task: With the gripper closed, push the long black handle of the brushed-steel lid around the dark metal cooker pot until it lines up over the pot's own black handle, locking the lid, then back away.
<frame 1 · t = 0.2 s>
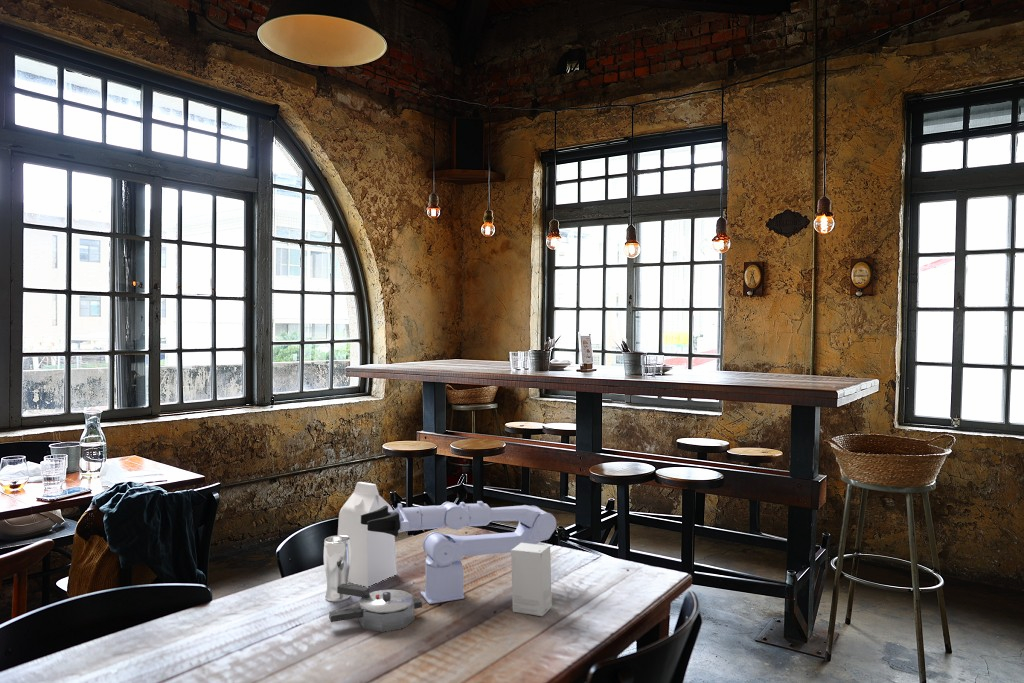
hand: (364, 522, 174), 21 cm above the table, tool horizontal, fingers open, 7 cm apart
pot: (386, 620, 167), on the table
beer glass: (337, 598, 181), on the table
milk: (366, 577, 196), on the table
skincare box: (531, 611, 174), on the table
lid: (374, 595, 168), point 5 cm above the table, hinge at -45.0°
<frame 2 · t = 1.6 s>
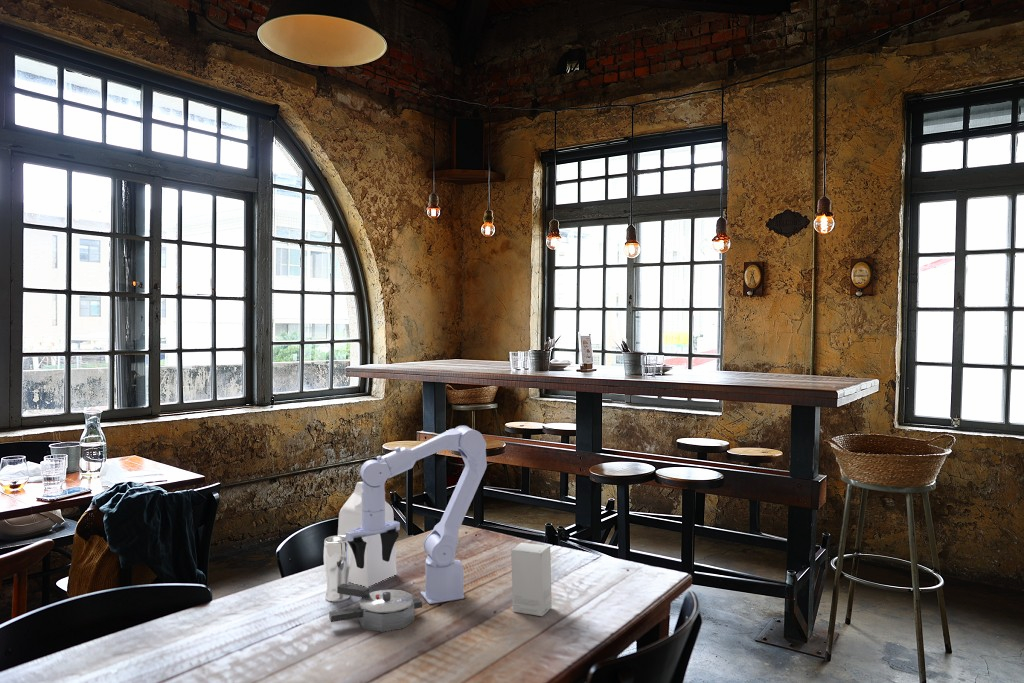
hand: (373, 563, 176), 10 cm above the table, tool pointing down, fingers open, 7 cm apart
nothing on the table moved.
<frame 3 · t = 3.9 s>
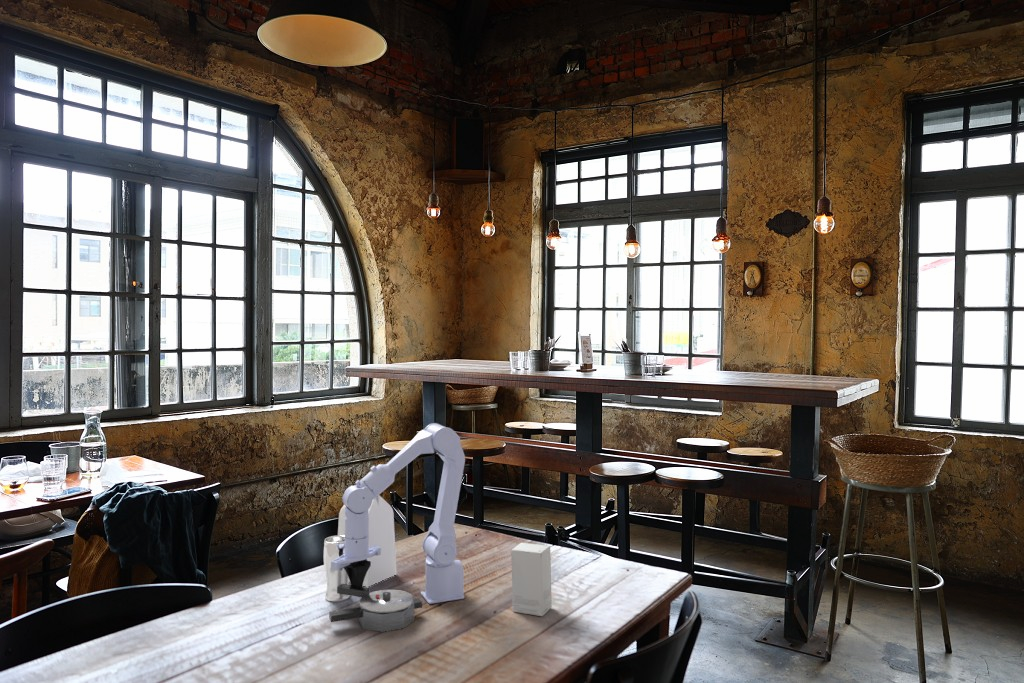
hand: (356, 591, 173), 5 cm above the table, tool pointing down, fingers closed
lid: (374, 595, 168), point 5 cm above the table, hinge at -44.6°, touching gripper
everything else where it was.
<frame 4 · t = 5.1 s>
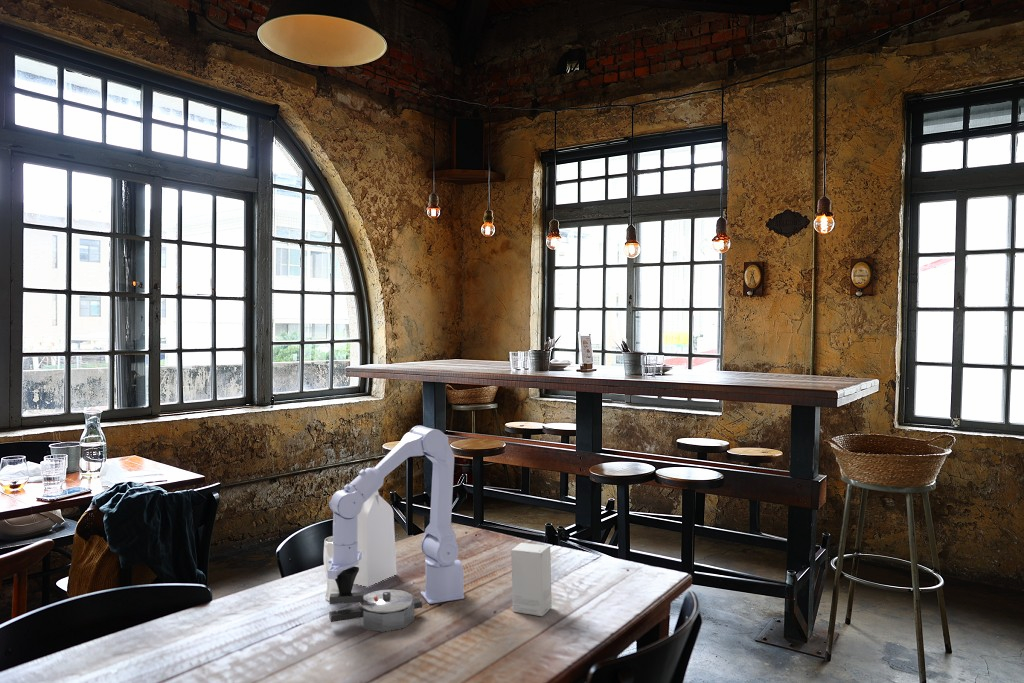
hand: (345, 599, 168), 5 cm above the table, tool pointing down, fingers closed
lid: (372, 598, 167), point 5 cm above the table, hinge at -15.2°, touching gripper
everything else where it was.
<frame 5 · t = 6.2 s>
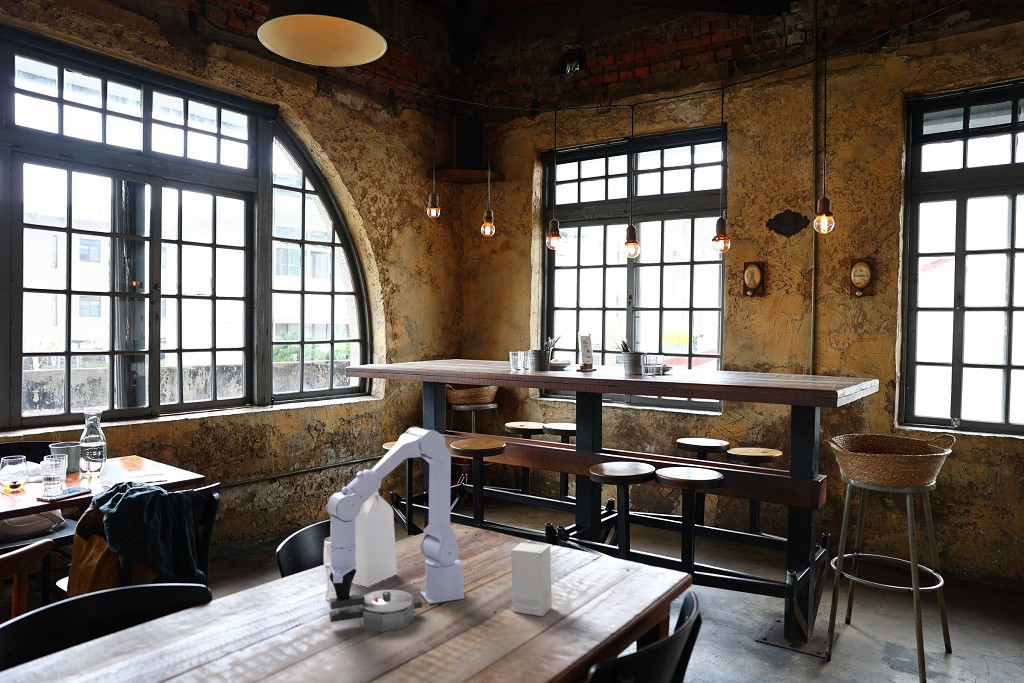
hand: (343, 602, 166), 5 cm above the table, tool pointing down, fingers closed
lid: (372, 599, 166), point 5 cm above the table, hinge at -1.1°, touching gripper
everything else where it was.
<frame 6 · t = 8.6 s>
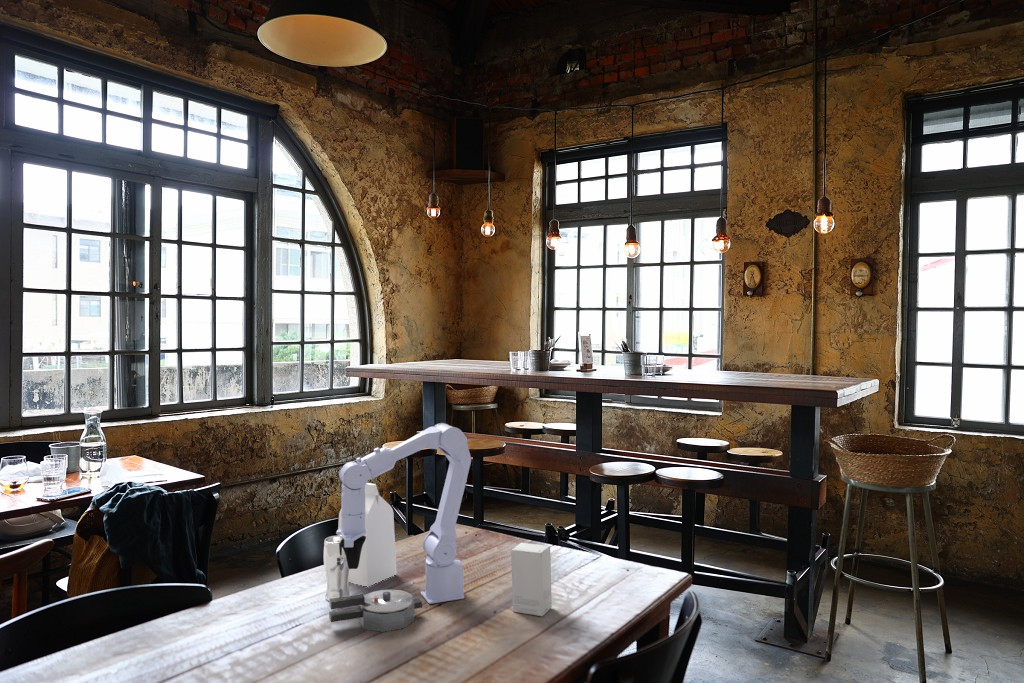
hand: (353, 568, 173), 10 cm above the table, tool pointing down, fingers closed
lid: (372, 599, 166), point 5 cm above the table, hinge at -1.0°
everything else where it was.
at the end: lid at -1° (first picture: -45°); the gripper is holding nothing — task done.
